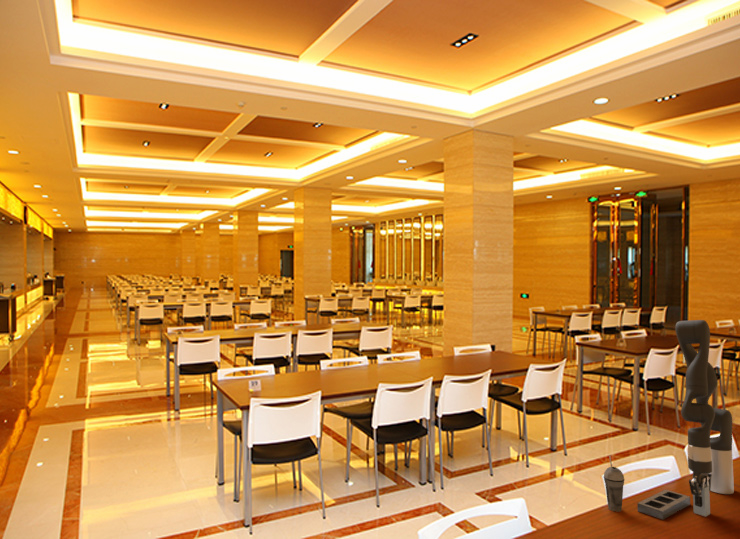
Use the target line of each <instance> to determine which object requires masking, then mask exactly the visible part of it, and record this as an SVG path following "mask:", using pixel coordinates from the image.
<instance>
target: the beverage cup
mask: <svg viewBox="0 0 740 539" xmlns="http://www.w3.org/2000/svg"><path fill="white" fill-rule="evenodd" d="M608 457H609V463H610V467H607V468H606V469H605V470H604V473H603V480H604V483H605V493H606V500H607V502H606V503H607V507H608V510H609V511H612V512H615V511H616V512H618V513H620V512H622V509H623V496H624V486H625V476H624V474H623V472H622V470H621V469H619V468H618V467H616V466H613V463H612V456H611V455H610V454H609V455H608Z"/></svg>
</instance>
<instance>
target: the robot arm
mask: <svg viewBox="0 0 740 539" xmlns="http://www.w3.org/2000/svg"><path fill="white" fill-rule="evenodd" d="M674 330H675V334H676V338H677V340H678V341H677V342H678V344H679V347H680V349H681V352H682V354H683V358H684V361H685V364H686V372H685V396H684V400H683V403H682V405H681V406H682V407H681V409H680V413H681V417H682V419H683V420H684V421H686V422H690V423H700V425H701V426H699V427H691V428H688V429H687V468H688V470H690V471H692V479H689V480H688V484H689V489H690V494H691V495H692V496H693V495H695V505H696V506H699V507H702V490H704V485H706V486H709V492H710V491H711V492H714V493H716V494H717V493H718V494H723V495H732V494H734V492H735V487H734V486H735V485H734V464H733V463H734V462H733V460H734V459H733V415H732V413H731V412H730V410H727V409H722V408H718V407H713V406H712V405H710V404H709V399H710V398H711V396H712V395H713V393H714V392H715V391H716V389H717V387H718V378H717V375H716V370H715V368H714V366H713V365H712V364H711V363H710V362H709V358H710V357H709V356H710V345H711V331H710V327H709V324H708V322H707V321H706V320H704V319H696V320H695V319H694V320H692V319H691V320H679V321H677V322H676V324H675V329H674ZM693 344H694V345H696V344H697V345H698V344H699V345H698V351H697V350H696V349H695V348H694V347H693ZM693 400H695V402H693ZM711 431H712V432H713V431H715V432H719V435H718V436H715V437H714V436H713V437H711ZM698 486H700V487H701V488H700V487H698ZM699 490H700V492H699Z"/></svg>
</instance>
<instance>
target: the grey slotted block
mask: <svg viewBox="0 0 740 539" xmlns="http://www.w3.org/2000/svg"><path fill="white" fill-rule="evenodd" d="M688 506H691V496H689V495H686V494H682V493H679V492H676V491H673V490H669V489H663V490H662V491H660V492H657V493H655V494H653V495H651V496H649V497H647V498H645V499H643V500H640V501H639V502H637V512H639V513H641V514H645V515H648V516H651V517H653V518H656V519H659V520H665V519H666V518H668V517H670V516H672V515H674V514H676V513H678V512H679V510H680V511H682V510H683V509H685V508H686V507H688ZM677 511H678V512H677Z"/></svg>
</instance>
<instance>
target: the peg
mask: <svg viewBox="0 0 740 539" xmlns="http://www.w3.org/2000/svg"><path fill="white" fill-rule="evenodd" d="M698 487H700V486H698ZM700 488H701V487H700ZM699 492H700V490H699ZM710 498H711V496H710V490H709V486H706V485H704V490H702V507H699V506H696V505H695V495H692V504H693V505H692V506H693V514H696V515H699V516H702V517H708V516H710V515H711V500H710Z"/></svg>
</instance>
